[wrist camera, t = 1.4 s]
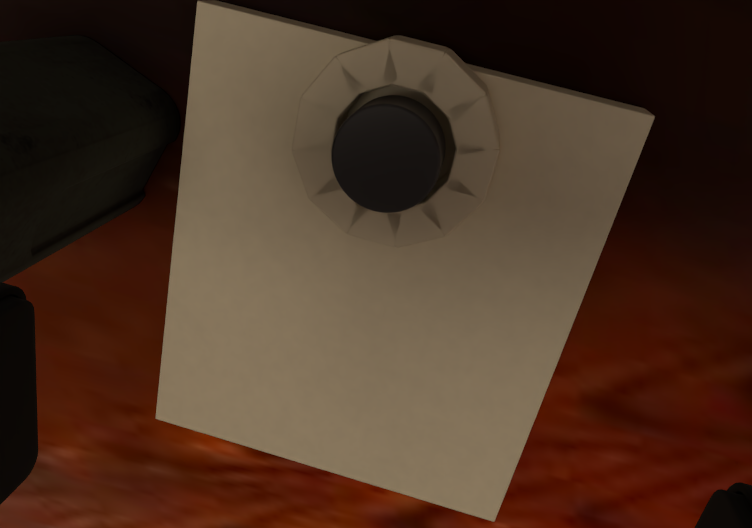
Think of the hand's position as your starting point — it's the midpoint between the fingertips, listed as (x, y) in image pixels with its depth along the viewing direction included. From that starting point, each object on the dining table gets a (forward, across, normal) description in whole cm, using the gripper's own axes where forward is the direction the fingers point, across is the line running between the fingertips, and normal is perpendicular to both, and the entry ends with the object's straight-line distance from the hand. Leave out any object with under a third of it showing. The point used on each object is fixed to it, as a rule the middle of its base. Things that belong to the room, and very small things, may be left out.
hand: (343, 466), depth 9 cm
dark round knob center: (+12, +1, -2) cm, 12 cm away
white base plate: (+14, +2, +4) cm, 15 cm away
